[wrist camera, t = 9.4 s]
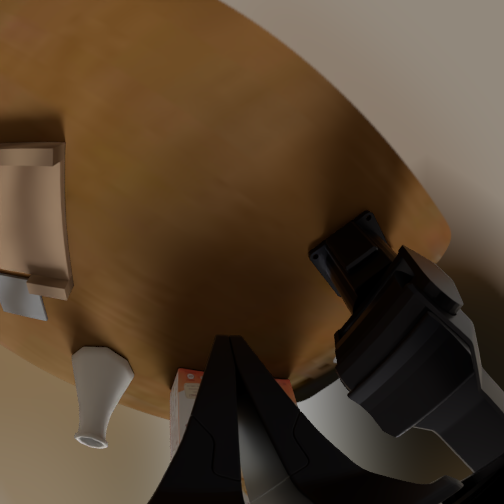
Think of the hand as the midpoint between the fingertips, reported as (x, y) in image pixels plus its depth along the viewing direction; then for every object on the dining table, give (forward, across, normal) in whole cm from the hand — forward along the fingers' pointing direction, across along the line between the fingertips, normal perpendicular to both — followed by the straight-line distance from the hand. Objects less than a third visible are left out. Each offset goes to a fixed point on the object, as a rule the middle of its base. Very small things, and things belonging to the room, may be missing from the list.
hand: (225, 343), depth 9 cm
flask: (+13, +10, +21) cm, 26 cm away
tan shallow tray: (+13, +24, +3) cm, 27 cm away
